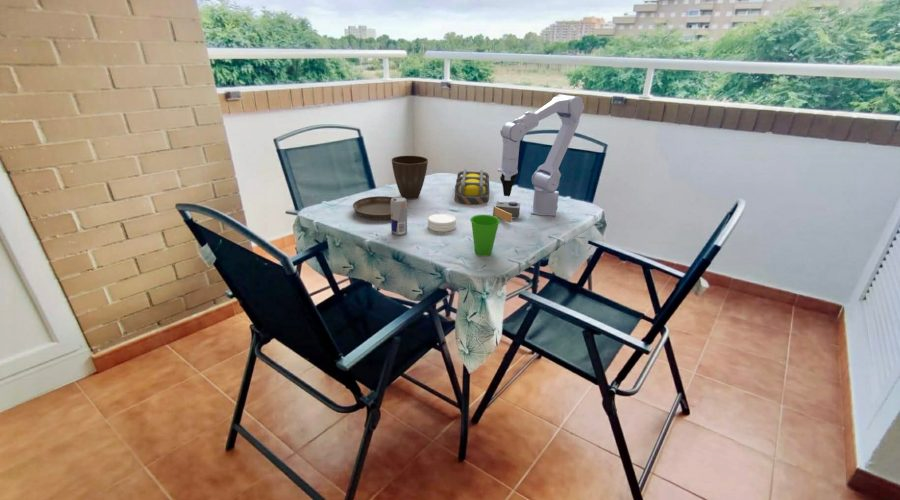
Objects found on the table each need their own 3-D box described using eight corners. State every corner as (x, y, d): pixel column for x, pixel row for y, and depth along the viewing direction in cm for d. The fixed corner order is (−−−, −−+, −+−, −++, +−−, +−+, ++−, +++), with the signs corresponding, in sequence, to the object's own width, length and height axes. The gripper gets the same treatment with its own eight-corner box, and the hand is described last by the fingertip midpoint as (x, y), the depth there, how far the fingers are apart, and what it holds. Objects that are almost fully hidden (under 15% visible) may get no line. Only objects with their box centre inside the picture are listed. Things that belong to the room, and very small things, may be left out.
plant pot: (413, 189, 194) (412, 153, 187) (435, 197, 184) (435, 160, 177) (385, 195, 184) (384, 158, 178) (407, 204, 175) (406, 165, 168)
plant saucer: (418, 212, 167) (418, 204, 166) (376, 226, 153) (376, 218, 152) (383, 200, 180) (383, 192, 178) (342, 212, 166) (341, 204, 164)
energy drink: (392, 229, 151) (391, 196, 146) (408, 229, 151) (407, 196, 146) (390, 235, 146) (389, 201, 141) (406, 235, 146) (405, 202, 141)
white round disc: (453, 221, 160) (453, 212, 158) (458, 231, 151) (458, 222, 149) (426, 222, 158) (426, 213, 156) (429, 233, 149) (429, 223, 148)
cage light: (454, 185, 173) (457, 167, 201) (453, 204, 177) (457, 184, 204) (490, 187, 173) (489, 168, 200) (489, 206, 176) (488, 185, 203)
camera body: (519, 212, 169) (520, 201, 167) (518, 219, 163) (519, 207, 161) (494, 210, 171) (495, 199, 169) (492, 216, 164) (493, 205, 162)
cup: (464, 255, 133) (466, 222, 128) (473, 244, 141) (475, 212, 136) (493, 260, 130) (495, 227, 125) (500, 249, 138) (503, 216, 133)
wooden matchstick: (511, 222, 158) (512, 214, 156) (509, 222, 157) (510, 214, 156) (494, 214, 165) (494, 206, 164) (492, 214, 164) (493, 206, 163)
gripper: (500, 152, 161) (498, 188, 166) (497, 161, 148) (494, 199, 153) (519, 153, 159) (516, 189, 165) (517, 163, 146) (514, 201, 152)
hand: (507, 194), depth 159 cm, fingers open, 3 cm apart
